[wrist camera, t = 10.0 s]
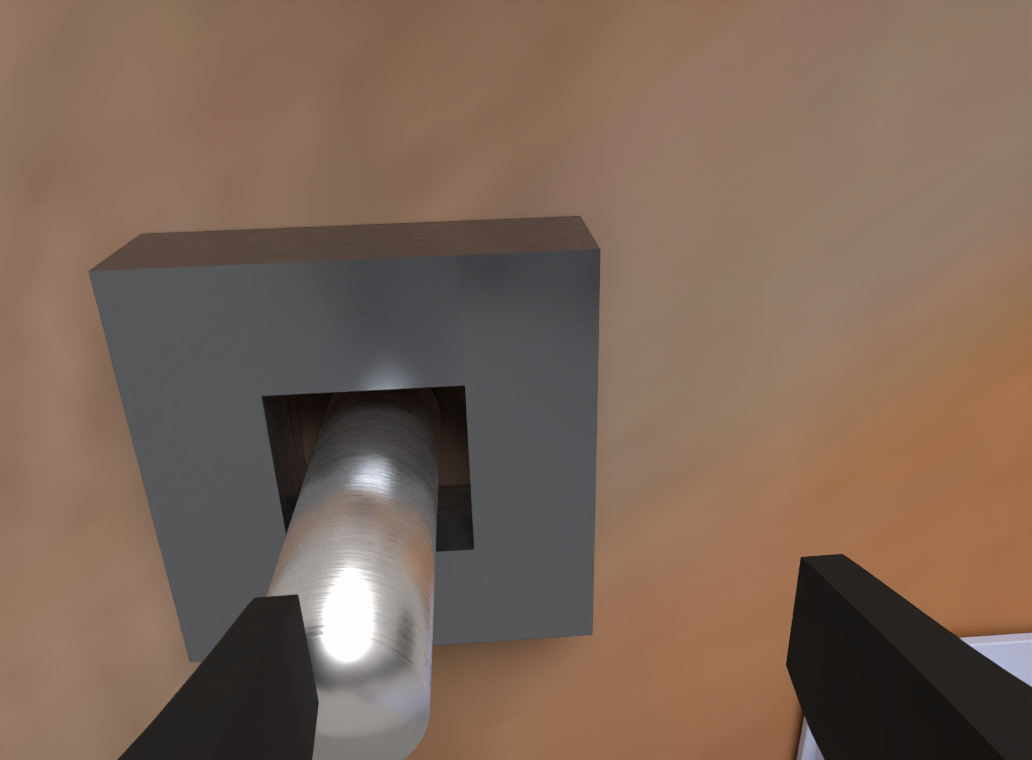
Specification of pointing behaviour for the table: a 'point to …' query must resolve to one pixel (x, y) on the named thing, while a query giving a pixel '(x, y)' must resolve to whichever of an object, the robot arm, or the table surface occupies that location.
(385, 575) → the pin
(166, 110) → the table surface
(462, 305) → the clevis block
